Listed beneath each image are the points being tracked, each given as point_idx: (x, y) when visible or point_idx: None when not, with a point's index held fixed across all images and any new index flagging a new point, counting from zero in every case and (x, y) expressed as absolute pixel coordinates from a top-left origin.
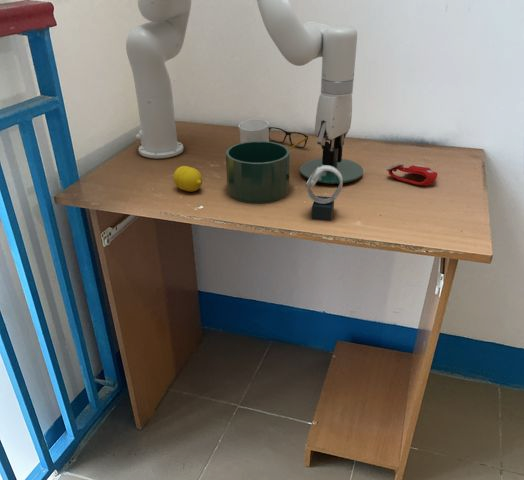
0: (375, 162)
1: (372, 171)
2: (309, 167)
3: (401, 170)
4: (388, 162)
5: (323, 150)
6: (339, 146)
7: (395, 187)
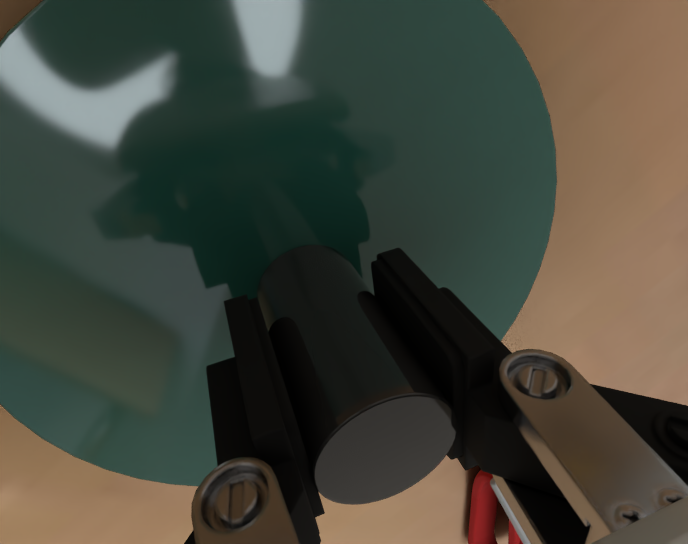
0: (640, 261)
1: (514, 349)
2: (146, 118)
3: (510, 522)
4: (661, 298)
5: (250, 426)
6: (472, 448)
7: (406, 516)
